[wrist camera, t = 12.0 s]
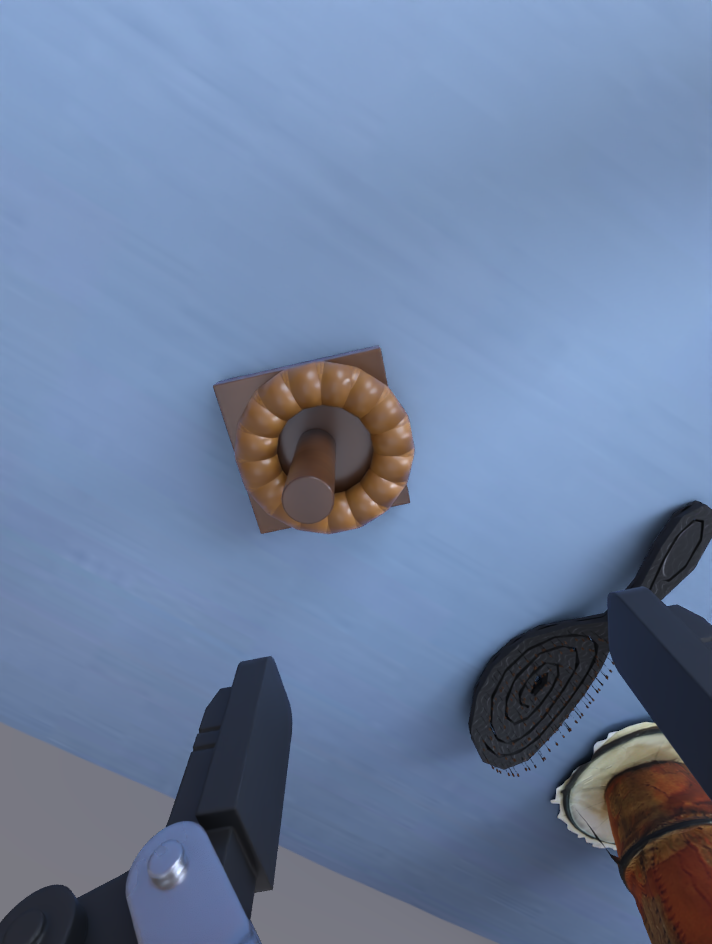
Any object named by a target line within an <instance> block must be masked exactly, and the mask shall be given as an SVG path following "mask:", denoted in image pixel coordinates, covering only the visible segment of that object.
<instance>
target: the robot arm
mask: <svg viewBox="0 0 712 944" xmlns="http://www.w3.org/2000/svg"><path fill="white" fill-rule="evenodd" d="M607 607H608V642H609V650H610V654H611V657H612V660H613V662H614V664H615V666H616V668H617V670H618V672H619V673H620V675H621V676H622V678H623V679H624V680H625V682H626V683H627V685H628V686H629V687H630V689H631V690H632V692H633V693H634V694H635V696H636V697H637V698H638V700H639V701H640V703H641V704H642V705H643V707H644V708H645V710H646V711H647V712H648V714H649V715H650V717H651V718H652V719H653V721H654V722H655V723H656V725H657V726H658V728H659V729H660V730H661V732H662V733H663V735H664V736H665V737H666V739H667V740H668V741H669V743H670V744H671V746H672V747H673V748H674V750H675V751H676V753H677V754H678V755H679V757H680V758H681V760H682V761H683V762H684V764H685V765H686V766H687V768H688V769H689V771H690V772H691V773H692V775H693V776H694V778H695V779H696V780H697V782H698V783H699V784H700V786H701V787H702V789H703V790H704V791H705V793H706V794H707V796H708V797H709V798H710V800H711V801H712V625H711V624H710V623H708V622H707V621H706V620H705V619H704V618H703V617H701V616H699V615H697V614H695V613H693V612H691V611H689V610H687V609H685V608H683V607H681V606H679V605H672V606H666V605H665V604H664V603H663V602H662V601H661V600H660V599H659V598H658V597H657V596H656V595H655V594H654V593H653V592H652V591H651V590H649V589H648V588H646V587H637V588H632V589H627V590H621V591H616V592H611V593H609V595H608V598H607ZM291 735H292V714H291V707H290V703H289V700H288V697H287V694H286V692H285V689H284V686H283V683H282V680H281V677H280V675H279V672H278V669H277V666H276V663H275V661H274V659H273V658H272V657H271V656H269V657H263V658H258V659H253V660H248V661H242V662H240V663H239V665H238V667H237V671H236V674H235V678H234V681H233V685H232V687H227V688H222V689H220V690H219V691H218V693H217V694H216V695H215V697H214V698H213V700H212V701H211V702H210V704H209V705H208V706H207V708H206V710H205V713H204V716H203V719H202V722H201V725H200V728H199V734H197V737H196V740H195V743H194V746H193V752H191V755H190V758H189V761H188V764H187V767H186V770H185V773H184V776H183V779H182V781H181V784H180V787H179V790H178V793H177V796H176V799H175V802H174V805H173V808H172V812H171V815H170V817H169V820H168V823H167V825H166V828H164V829H162V830H161V831H160V832H158V833H157V834H156V835H155V836H153V837H152V838H151V839H150V840H149V841H148V842H147V843H146V844H145V846H144V847H143V848H142V849H141V851H140V852H139V854H138V855H137V857H136V858H135V860H134V862H133V864H132V866H131V868H130V870H129V871H127V872H125V873H124V874H122V875H120V876H119V877H117V878H115V879H113V880H111V881H109V882H107V883H105V884H103V885H101V886H99V887H97V888H96V889H94V890H92V891H90V892H88V893H86V894H84V895H82V896H80V897H78V898H76V897H75V895H74V894H73V893H72V891H71V890H70V889H69V888H68V887H66V886H63V885H51V886H47V887H44V888H42V889H40V890H38V891H36V892H34V893H32V894H31V895H29V896H28V897H26V898H25V899H24V900H23V901H21V902H20V903H19V904H18V905H16V906H15V907H14V909H12V910H11V911H10V912H9V913H8V914H7V915H6V916H5V918H4V919H3V920H2V921H1V923H0V944H262V943H261V941H260V939H259V937H258V935H257V933H256V931H255V928H254V926H253V924H252V922H251V920H250V918H251V911H252V904H253V897H254V893H256V892H262V891H267V890H272V889H273V884H274V875H275V867H276V859H277V851H278V842H279V834H280V826H281V818H282V809H283V801H284V793H285V784H286V776H287V768H288V760H289V751H290V743H291Z"/></svg>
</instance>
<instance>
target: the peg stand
mask: <svg viewBox="0 0 712 944" xmlns="http://www.w3.org/2000/svg"><path fill="white" fill-rule="evenodd" d="M317 361H326V362H332V363H338V364H344V365H350V366H354V367H358V368H360V369H361V370H363V371H365V372H366V373H368V374H369V375H371V376H372V377H374V378H376V379H377V380H379V381H380V382H382V383H384V384H385V385H386V386H387V387H388V384H387V379H386V374H385V368H384V363H383V358H382V353H381V349H380V347H379V346H374V347H369V348H365V349H360V350H356V351H351V352H347V353H343V354H338V355H334V356H329V357H325V358H320V359H316V360H311V361H307V362H303V363H298V364H294V365H289V366H285V367H280V368H276V369H271V370H267V371H263V372H258V373H254V374H249V375H245V376H240V377H236V378H232V379H227V380H223V381H219V382H218V383H216V384H215V385H213V388H214V391H215V394H216V397H217V400H218V403H219V406H220V410H221V413H222V416H223V419H224V422H225V425H226V428H227V431H228V434H229V437H230V440H231V443H232V446H233V449H234V452H235V446H236V434H237V424H238V421H239V419H240V417H241V415H242V413H243V412H244V410H245V408H246V406H247V404H248V403H249V401H250V399H251V397H252V395H253V394H254V392H255V391H256V390H257V389H258V388H260V387H261V386H262V385H264V384H265V383H266V382H268V381H269V380H270V379H272V378H273V377H274V376H276V375H277V374H278V373H280V372H281V371H283V370H285V369H288V368H291V367H295V366H300V365H304V364H308V363H312V362H317ZM277 455H278V458H279V462H280V465H281V468H282V470H283V472H284V473H285V474H286V475H287V479H286V483H285V486H284V489H283V493H282V499H281V500H282V506H283V509H284V510H285V512H286V513H287V515H288V516H289V517H290V518H292V519H293V520H295V521H297V522H299V523H303V524H313V523H317V522H320V521H322V520H323V519H325V518H326V517H327V516H328V515H329V514H330V512H331V511H332V509H333V505H334V494H335V493H339V492H344V491H347V490H348V489H350V488H351V487H353V486H354V485H356V484H357V483H359V482H360V481H361V480H362V478H363V477H364V475H365V474H366V472H367V471H368V469H369V468H370V465H371V460H372V455H373V446H372V442H371V437H370V433H369V432H368V430H367V429H366V428H365V426H364V425H363V424H362V422H361V421H360V419H359V418H357V417H356V416H354V415H352V414H351V413H349V412H348V411H346V410H344V409H343V408H338V407H331V406H325V405H320V406H316V407H312V408H308V409H303V410H302V411H300V412H299V413H298V414H296V415H295V416H294V417H292V418H291V419H289V420H288V421H287V423H286V425H285V426H284V428H283V430H282V431H281V433H280V435H279V439H278V448H277ZM247 492H248V491H247ZM248 495H249V498H250V502H251V505H252V508H253V511H254V514H255V517H256V520H257V523H258V526H259V529H260V532H261V534H263V533H268V532H273V531H277V530H282V529H287V528H292V527H290V526H288V525H286V524H285V523H283V522H281V521H279V520H277V519H275V518H273V517H271V516H270V515H268V514H267V513H266V512H265V511H264V510H263V509H262V508H261V506H260V505H259V504H258V503H257V502H256V501H255V500H254V498H253V497H252V496H251V495H250V494H249V493H248ZM407 503H410V499H409V493H408V488H407V484H406V486H405V487H404V489H403V490H402V491H401V493H400V494H399V496H398V497H397V498H396V500H395V501H394V503H393V504H392V505H391V507H393V506H398V505H403V504H407Z"/></svg>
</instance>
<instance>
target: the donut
mask: <svg viewBox="0 0 712 944" xmlns="http://www.w3.org/2000/svg"><path fill="white" fill-rule="evenodd" d="M320 405H325V406H331V407H338V408H343V409H344V410H346V411H348V412H349V413H351V414H352V415H354V416H356V417H357V418H359V419H360V421H361V422H362V424H363V425H364V426H365V428H366V429H367V430H368V432H369V433H370V437H371V442H372V446H373V455H372V460H371V465H370V468H369V469H368V471H367V472H366V474H365V475H364V477H363V478H362V480H361V481H360V482H359V483H357V484H356V485H354V486H353V487H351V488H350V489H348V490H347V491H344V492H339V493H335V494H334V505H333V509H332V511H331V512H330V514H329V515H328V516H327V517H326V518H325V519H323V520H322V521H320V522H317V523H313V524H303V523H299V522H297V521H295V520H293V519H292V518H290V517H289V516H288V515H287V513H286V512H285V510H284V509H283V506H282V500H281V499H282V493H283V489H284V486H285V483H286V479H287V475H286V474H285V473H284V472H283V470H282V468H281V465H280V462H279V458H278V455H277V448H278V439H279V435H280V433H281V431H282V430H283V428H284V426H285V425H286V423H287V421H288V420H289V419H291V418H292V417H294V416H295V415H296V414H298V413H299V412H300V411H302V410H303V409H308V408H312V407H316V406H320ZM414 451H415V449H414V442H413V437H412V432H411V427H410V422H409V418H408V415H407V413H406V412H405V410H404V409H403V407H402V406H401V404H400V403H399V401H398V400H397V399H396V397H395V396H394V394H393V393H392V391H391V390H390V389H389V388H388V387H387V386H386V385H385V384H384V383H382V382H380V381H379V380H377V379H376V378H374V377H372V376H371V375H369V374H368V373H366V372H365V371H363V370H361V369H360V368H358V367H354V366H350V365H344V364H338V363H332V362H326V361H317V362H312V363H308V364H304V365H300V366H295V367H291V368H288V369H285V370H283V371H281V372H280V373H278V374H277V375H276V376H274V377H273V378H272V379H270V380H269V381H268V382H266V383H265V384H264V385H262V386H261V387H260V388H258V389H257V390H256V391H255V392H254V394H253V395H252V397H251V399H250V401H249V403H248V404H247V406H246V408H245V410H244V412H243V413H242V415H241V417H240V419H239V421H238V424H237V434H236V446H235V459H236V463H237V466H238V469H239V472H240V475H241V477H242V480H243V483H244V486H245V488H246V490H247V491H248V493H249V494H250V495H251V496H252V497H253V498H254V500H255V501H256V502H257V503H258V504H259V505H260V506H261V508H262V509H263V510H264V511H265V512H266V513H267V514H268V515H270V516H271V517H273V518H275V519H277V520H279V521H281V522H283V523H285V524H286V525H288V526H290V527H292V528H294V529H296V530H300V531H308V532H315V533H322V534H333V533H338V532H343V531H347V530H352V529H356V528H360V527H362V526H364V525H366V524H367V523H369V522H370V521H372V520H373V519H375V518H377V517H378V516H380V515H381V514H383V513H384V512H386V511H387V510H388V509H389V508H390V507H391V505H392V504H393V503H394V501H395V500H396V498H397V497H398V496H399V494H400V493H401V491H402V490H403V489H404V487H405V486H406V484H407V482H408V479H409V475H410V470H411V466H412V461H413V457H414Z"/></svg>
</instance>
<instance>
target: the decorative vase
mask: <svg viewBox="0 0 712 944" xmlns="http://www.w3.org/2000/svg"><path fill="white" fill-rule="evenodd" d="M551 803H555V804H560V813H559V815H558V817H557V818H559V819H561V820H562V821H564V822H565V823H566V824H567V825H568V827H567V829H569V830H570V831H572V832H574V833H576V834H578V838H582V837H585V840H586V843H593V847H598V848H607V847H610V848H613V849H614V850H617V853H618V857H619V858H618V857H616V856H613V855H611V854H610V853H609V852H608V853H609V854H610V856H611V858H612V859H613V860H614V861H615V862H616V863H617V864H618V868H619V873H620V876H621V879H622V880H623V882H624V884H625V886H626V887H627V889H628V890H629V892H630V893H631V894H632V895H633V896H634V898H635V900H636V904H637V907H638V909H639V912H640V914H641V916H642V919H643V923H644V925H645V928H646V930H647V933H648V935H649V938H650V941H651V943H652V944H712V801H711V800H710V798H709V797H708V796H707V794H706V793H705V791H704V790H703V789H702V787H701V786H700V784H699V783H698V782H697V780H696V779H695V778H694V776H693V775H692V773H691V772H690V771H689V769H688V768H687V766H686V765H685V764H684V762H683V761H682V760H681V758H680V757H679V755H678V754H677V753H676V751H675V750H674V748H673V747H672V746H671V744H670V743H669V741H668V740H667V739H666V737H665V736H664V735H663V733H662V732H661V730H660V729H659V728H658V726H657V725H656V723H655V722H654V723H649V722H642V723H639V724H635V725H632V726H629V727H626V728H624V729H622V730H620V731H616V732H611V733H609V734H608V737H607V740H602V741H598V742H597V743H596V744H595V745H594V753H593V756H592V758H591V761H590V762H588V763H585V764H583V765H580V766H579V767H578V768H577V769H576V770H574V771H573V773H572V775H571V777H570V778H569V779H567V780H566V781H565V782H564V784H563V785H561V786H560V787H558V788H557V789H556V798H555V800H551ZM606 850H607V849H606ZM607 851H608V850H607Z"/></svg>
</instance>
